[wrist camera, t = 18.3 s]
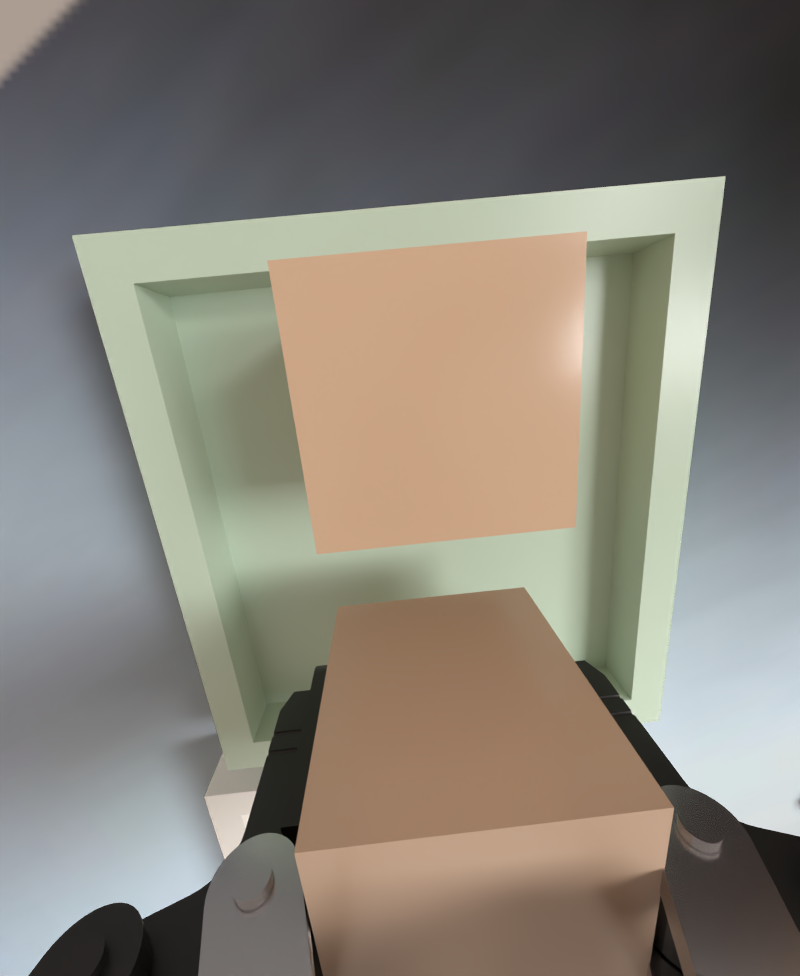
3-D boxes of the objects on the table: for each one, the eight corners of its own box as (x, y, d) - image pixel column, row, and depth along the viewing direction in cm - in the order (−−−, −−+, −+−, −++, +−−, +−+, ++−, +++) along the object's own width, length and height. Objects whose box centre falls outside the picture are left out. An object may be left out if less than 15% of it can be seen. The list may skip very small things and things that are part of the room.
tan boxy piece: (491, 297, 10) (586, 231, 6) (495, 463, 12) (575, 527, 7) (321, 313, 10) (266, 260, 5) (343, 478, 12) (316, 554, 7)
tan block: (524, 587, 9) (673, 807, 5) (523, 732, 11) (640, 1022, 6) (337, 606, 9) (294, 853, 5) (359, 751, 11) (344, 1062, 6)
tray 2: (649, 219, 11) (725, 175, 8) (615, 665, 15) (659, 720, 13) (141, 266, 11) (71, 235, 8) (252, 706, 15) (227, 770, 12)
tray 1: (588, 689, 15) (626, 747, 13) (576, 917, 19) (603, 994, 17) (232, 729, 15) (204, 796, 13) (293, 952, 19) (281, 1035, 17)
